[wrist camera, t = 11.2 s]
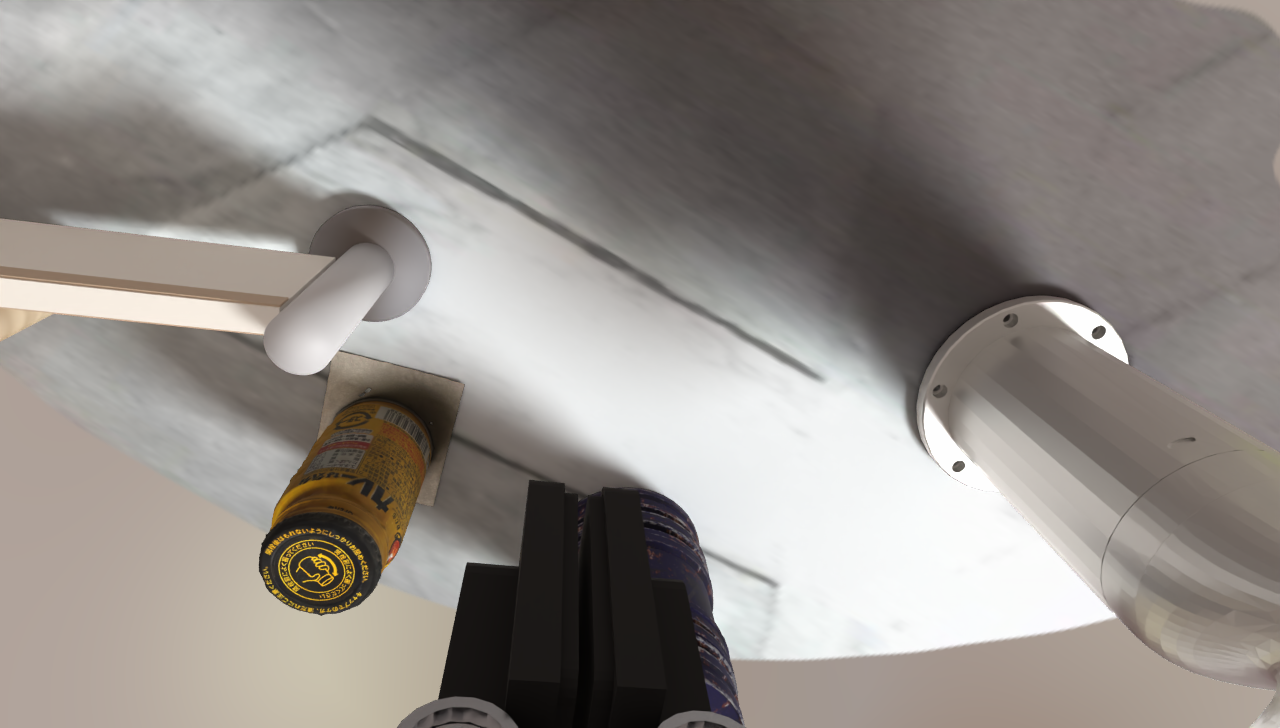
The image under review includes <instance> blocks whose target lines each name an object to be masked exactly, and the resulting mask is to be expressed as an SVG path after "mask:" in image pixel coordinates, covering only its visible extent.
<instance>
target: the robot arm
mask: <svg viewBox="0 0 1280 728" xmlns="http://www.w3.org/2000/svg"><path fill="white" fill-rule="evenodd" d="M916 408H917V425H918V429H919V433H920V436H921V440H922V442H923V444H924V445H925V447H926V449H927V451H928V453H929V454H930V456H931V457H932V458H933V459H934V460H935V462H936V463H937V464H938V465H939V467H940V468H942V469H943V470H944V471H945V472H946V473H947V474H948V475H949V476H951V477H952V478H954V479H956V480H957V481H959V482H961V483H963V484H965V485H967V486H970V487H974V488H977V489H980V490H985V491H995V492H1000V494H1001V495H1002V496H1003V497H1004V498H1005V499H1006V500H1007V501H1008V502H1009V503H1010V504H1011V505H1012V506H1013V507H1014V508H1015V509H1016V511H1017V512H1018V513H1019V514H1020V515H1021V516H1022V517H1023V518H1024V519H1025V520H1026V521H1027V522H1028V523H1029V524H1030V525H1031V526H1032V528H1033V529H1034V530H1035V531H1036V532H1037V533H1038V534H1039V535H1040V536H1041V537H1042V538H1043V539H1044V540H1045V541H1046V542H1047V544H1048V545H1049V546H1050V547H1051V548H1052V549H1053V550H1054V551H1055V552H1056V553H1057V554H1058V555H1059V556H1060V557H1061V558H1062V559H1063V561H1064V562H1065V563H1066V564H1067V565H1068V566H1069V567H1070V568H1071V569H1072V570H1073V571H1074V572H1075V573H1076V574H1077V575H1078V576H1079V578H1080V579H1081V580H1082V581H1083V582H1084V583H1085V584H1086V585H1087V586H1088V587H1089V588H1090V589H1091V590H1092V591H1093V592H1094V593H1095V595H1096V596H1097V597H1098V598H1099V599H1100V600H1101V601H1102V602H1103V603H1104V604H1105V605H1106V606H1107V607H1108V608H1109V609H1110V610H1111V611H1112V613H1113V614H1114V615H1116V616H1117V617H1118V618H1119V620H1120V621H1121V622H1122V623H1123V624H1124V625H1125V626H1126V627H1127V628H1128V629H1129V630H1130V631H1131V632H1132V633H1133V634H1134V635H1135V636H1136V637H1137V638H1138V639H1139V640H1140V641H1142V643H1144V644H1145V645H1146V646H1147V647H1148V648H1150V649H1151V650H1153V651H1154V652H1155V653H1157V654H1158V655H1160V656H1161V657H1162V658H1164V659H1166V660H1168V661H1169V662H1171V663H1173V664H1175V665H1177V666H1180V667H1181V668H1183V669H1185V670H1188V671H1190V672H1193V673H1195V674H1198V675H1202V676H1205V677H1208V678H1211V679H1214V680H1218V681H1222V682H1227V683H1232V684H1236V685H1242V686H1247V687H1252V688H1259V689H1267V690H1274V691H1276V694H1275V696H1274V697H1273V699H1272V701H1271V703H1270V704H1269V705H1268V706H1267V708H1266V709H1265V710H1264V711H1263V712H1262V714H1261V715H1260V716H1259V717H1258V718H1257V720H1256V721H1255V722H1254V723H1253V724H1252V725H1251V726H1250V727H1249V728H1280V452H1278V451H1276V450H1274V449H1273V448H1271V447H1269V446H1268V445H1266V444H1264V443H1262V442H1261V441H1259V440H1257V439H1256V438H1254V437H1252V436H1250V435H1249V434H1247V433H1245V432H1244V431H1242V430H1240V429H1238V428H1237V427H1235V426H1233V425H1232V424H1230V423H1228V422H1226V421H1225V420H1223V419H1221V418H1220V417H1218V416H1216V415H1214V414H1213V413H1211V412H1209V411H1208V410H1206V409H1204V408H1202V407H1201V406H1199V405H1197V404H1196V403H1194V402H1192V401H1190V400H1189V399H1187V398H1185V397H1184V396H1182V395H1180V394H1178V393H1177V392H1175V391H1173V390H1172V389H1170V388H1168V387H1166V386H1165V385H1163V384H1161V383H1160V382H1158V381H1156V380H1154V379H1153V378H1151V377H1149V376H1148V375H1146V374H1144V373H1142V372H1141V371H1139V370H1137V369H1136V368H1134V367H1132V366H1130V365H1129V362H1128V355H1127V352H1126V349H1125V347H1124V344H1123V342H1122V339H1121V337H1120V336H1119V335H1118V333H1117V332H1116V330H1115V329H1114V327H1113V326H1112V325H1111V324H1110V323H1109V322H1108V321H1107V320H1106V319H1104V318H1103V317H1102V316H1101V315H1100V314H1099V313H1097V312H1095V311H1093V310H1091V309H1090V308H1088V307H1086V306H1084V305H1082V304H1080V303H1077V302H1074V301H1071V300H1069V299H1066V298H1061V297H1053V296H1046V295H1045V296H1027V297H1022V298H1018V299H1013V300H1009V301H1005V302H1003V303H1000V304H998V305H996V306H993V307H991V308H989V309H986V310H984V311H983V312H981V313H980V314H978V315H976V316H975V317H973V318H972V319H970V320H968V321H967V322H966V323H964V324H963V325H962V326H961V327H960V328H959V329H958V330H956V331H955V332H954V333H953V334H952V335H951V336H950V337H949V338H948V339H947V340H946V342H945V343H944V344H943V345H942V346H941V348H940V349H939V350H938V351H937V352H936V354H935V356H934V358H933V359H932V361H931V363H930V364H929V366H928V368H927V369H926V372H925V375H924V377H923V380H922V383H921V385H920V388H919V394H918V400H917V406H916ZM397 728H746V727H744V726H743V725H741V724H739V723H738V722H736V721H734V720H732V719H731V718H729V717H726V716H723V715H720V714H716V713H713V712H711V708H710V703H709V698H708V693H707V688H706V683H705V678H704V673H703V668H702V663H701V658H700V653H699V649H698V644H697V639H696V634H695V629H694V624H693V619H692V614H691V609H690V604H689V599H688V594H687V590H686V586H685V583H684V582H683V581H682V580H676V579H664V578H652V577H651V574H650V567H649V559H648V552H647V545H646V538H645V531H644V524H643V517H642V510H641V503H640V496H639V491H637V490H627V489H617V488H607V487H603V489H602V492H601V496H591V495H588V498H587V504H586V510H585V516H584V523H583V529H582V536H581V542H580V548H579V555H578V495H577V494H570V493H565V484H564V483H555V482H545V481H534V480H529V487H528V495H527V503H526V512H525V520H524V528H523V536H522V545H521V553H520V561H519V567H517V566H505V565H493V564H481V563H468V562H467V565H466V568H465V573H464V578H463V582H462V587H461V592H460V597H459V602H458V606H457V611H456V616H455V621H454V626H453V631H452V635H451V640H450V645H449V650H448V655H447V659H446V664H445V669H444V674H443V678H442V684H441V688H440V693H439V698H438V700H435V701H432V702H430V703H428V704H426V705H423V706H421V707H419V708H417V709H416V710H414V711H413V712H412V713H411V714H410V715H408V716H407V717H406V718H405V719H403V720H402V721H401V723H400V724H399V725H398V727H397Z"/></svg>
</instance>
